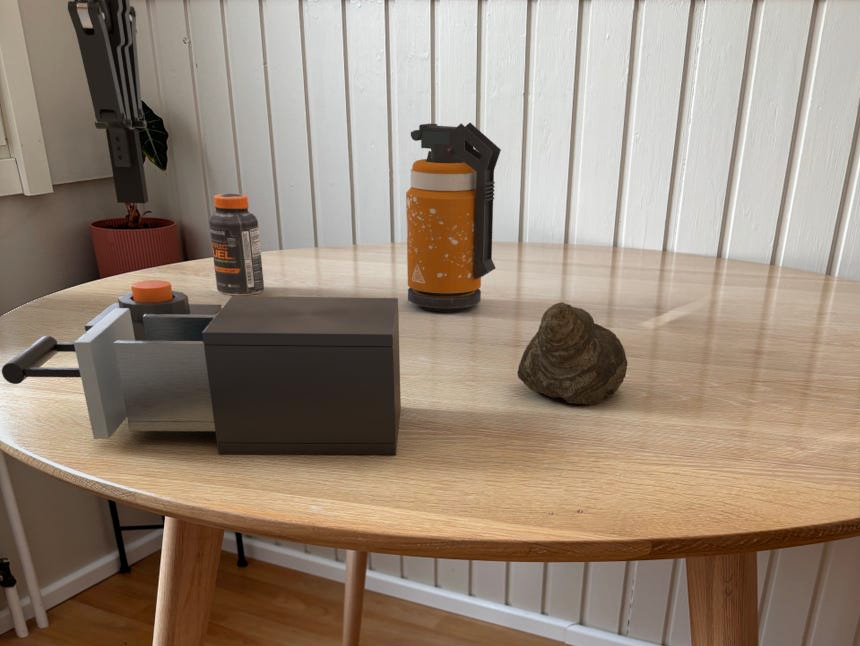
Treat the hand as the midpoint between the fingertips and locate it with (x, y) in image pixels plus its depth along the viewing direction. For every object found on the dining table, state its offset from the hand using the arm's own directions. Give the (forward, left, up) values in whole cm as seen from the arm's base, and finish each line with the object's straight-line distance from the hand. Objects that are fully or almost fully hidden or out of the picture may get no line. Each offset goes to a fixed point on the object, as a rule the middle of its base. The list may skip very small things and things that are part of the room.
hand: (133, 201), depth 95 cm
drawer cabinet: (+21, -30, -13) cm, 38 cm away
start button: (+1, -1, -10) cm, 10 cm away
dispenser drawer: (+7, -30, -12) cm, 33 cm away
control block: (+1, -1, -13) cm, 13 cm away
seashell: (+45, -19, -13) cm, 50 cm away
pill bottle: (+6, +21, -13) cm, 26 cm away
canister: (+33, +14, -13) cm, 38 cm away
